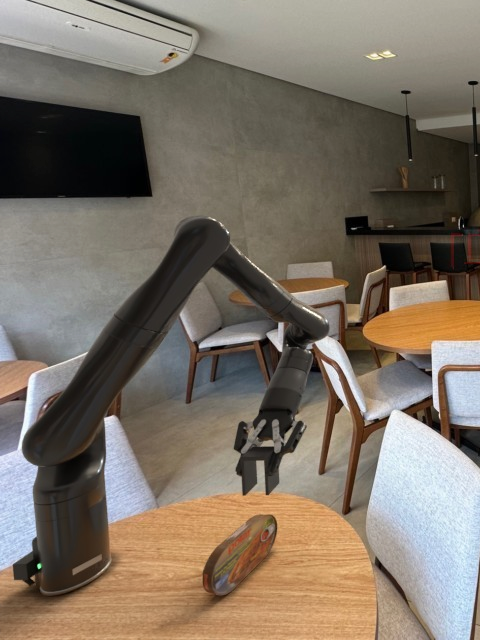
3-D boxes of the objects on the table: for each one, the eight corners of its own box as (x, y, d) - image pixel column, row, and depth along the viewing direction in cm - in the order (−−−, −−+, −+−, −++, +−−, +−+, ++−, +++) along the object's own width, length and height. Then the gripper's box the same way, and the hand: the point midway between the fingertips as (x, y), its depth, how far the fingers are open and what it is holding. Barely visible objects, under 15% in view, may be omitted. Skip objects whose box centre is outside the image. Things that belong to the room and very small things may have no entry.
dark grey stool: (242, 495, 82) (240, 457, 81) (254, 483, 86) (252, 446, 85) (268, 495, 82) (266, 456, 81) (279, 483, 86) (277, 446, 85)
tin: (214, 608, 72) (212, 562, 71) (199, 605, 72) (197, 559, 72) (279, 543, 86) (277, 505, 86) (266, 541, 87) (265, 503, 87)
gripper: (244, 386, 90) (208, 470, 79) (310, 385, 90) (283, 469, 79) (260, 399, 96) (228, 480, 84) (322, 399, 96) (298, 479, 85)
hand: (255, 474), depth 82 cm, fingers closed on dark grey stool, 5 cm apart
